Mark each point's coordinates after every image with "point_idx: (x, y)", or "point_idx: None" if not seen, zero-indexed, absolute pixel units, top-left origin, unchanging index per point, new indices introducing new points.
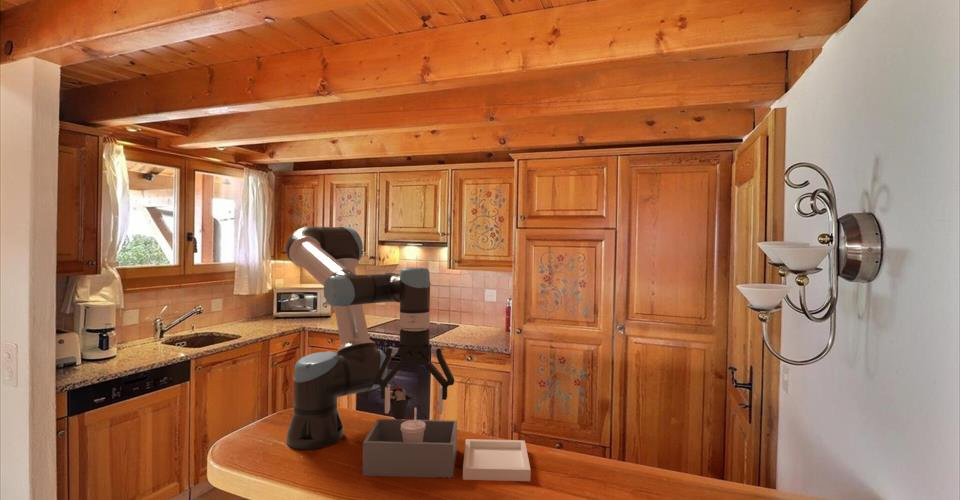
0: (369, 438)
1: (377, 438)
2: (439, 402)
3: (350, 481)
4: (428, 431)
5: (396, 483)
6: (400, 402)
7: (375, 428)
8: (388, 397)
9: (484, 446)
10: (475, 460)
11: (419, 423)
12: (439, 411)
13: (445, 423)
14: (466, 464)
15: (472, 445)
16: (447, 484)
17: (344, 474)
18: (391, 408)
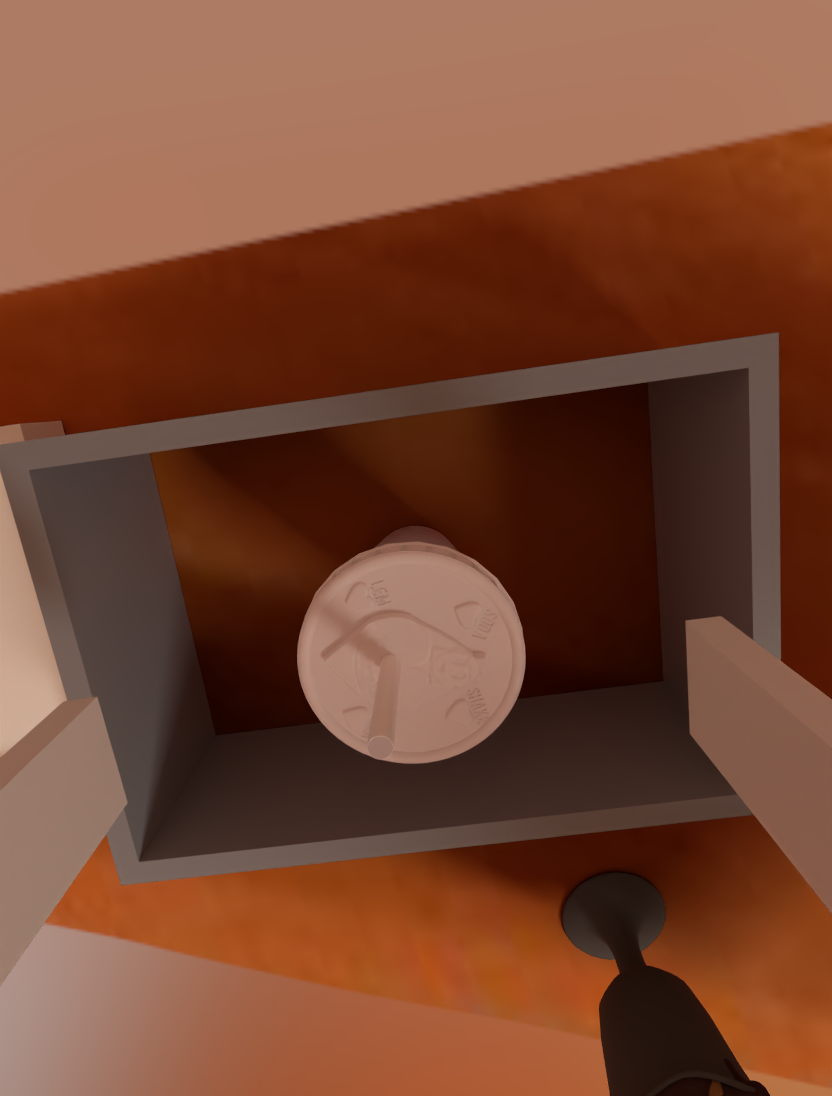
0: (745, 442)
1: None
2: (9, 776)
3: (720, 271)
4: (353, 787)
5: (432, 303)
6: (665, 1078)
7: None
8: (785, 745)
9: None
10: (30, 614)
11: (355, 682)
12: (75, 712)
13: (212, 843)
14: None
15: None
16: (132, 350)
17: (785, 347)
18: (724, 1040)
